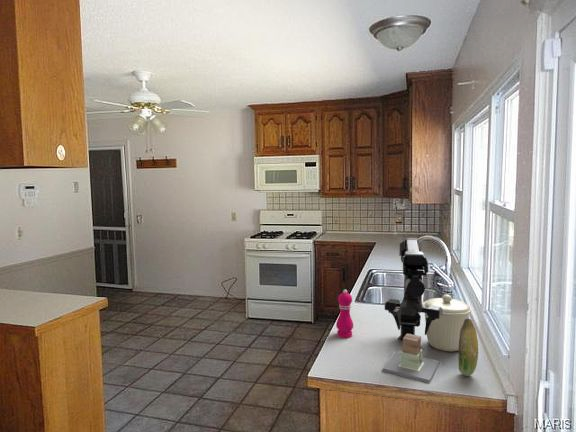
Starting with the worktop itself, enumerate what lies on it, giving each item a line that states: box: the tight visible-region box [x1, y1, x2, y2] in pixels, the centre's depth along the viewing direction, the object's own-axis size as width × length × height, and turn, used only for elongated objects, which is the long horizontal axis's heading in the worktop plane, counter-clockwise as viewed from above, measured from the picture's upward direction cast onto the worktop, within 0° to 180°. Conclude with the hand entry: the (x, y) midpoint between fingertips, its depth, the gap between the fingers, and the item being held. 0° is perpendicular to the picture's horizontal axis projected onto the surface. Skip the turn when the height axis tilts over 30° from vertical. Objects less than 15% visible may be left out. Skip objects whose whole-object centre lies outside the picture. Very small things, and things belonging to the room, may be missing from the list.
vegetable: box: [457, 317, 479, 377], centre depth 137 cm, size 6×6×20 cm
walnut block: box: [402, 334, 422, 355], centre depth 144 cm, size 5×5×5 cm
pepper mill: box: [335, 289, 354, 339], centre depth 173 cm, size 7×7×20 cm
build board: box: [381, 351, 441, 384], centre depth 145 cm, size 16×16×1 cm
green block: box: [401, 348, 423, 370], centre depth 145 cm, size 6×6×5 cm
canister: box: [422, 294, 473, 352], centre depth 162 cm, size 18×18×21 cm
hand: (412, 332), depth 144 cm, fingers open, 9 cm apart
